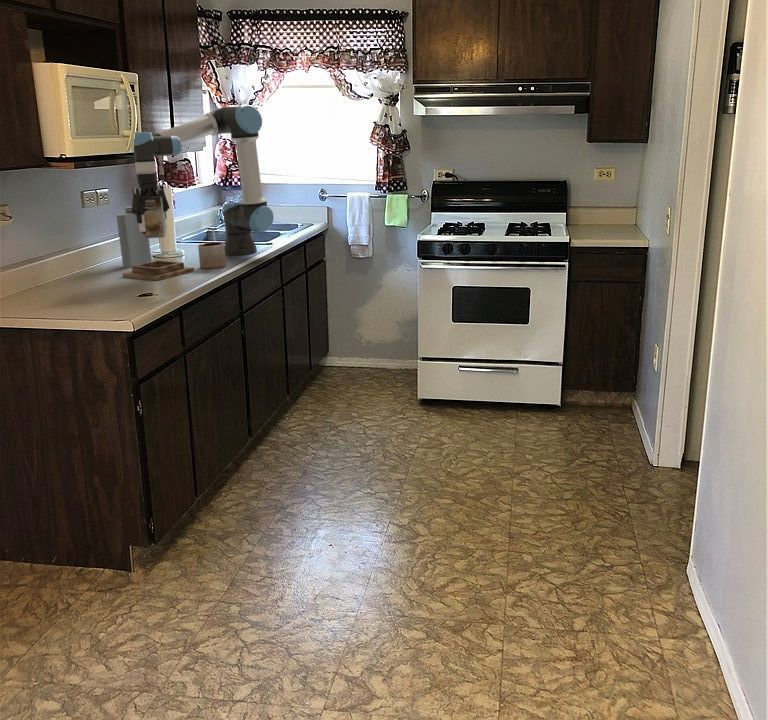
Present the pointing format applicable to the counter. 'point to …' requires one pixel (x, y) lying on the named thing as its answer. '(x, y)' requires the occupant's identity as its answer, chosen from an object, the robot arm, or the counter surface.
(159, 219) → the coffee box
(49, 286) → the counter surface
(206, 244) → the planter
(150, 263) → the holder
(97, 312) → the counter surface
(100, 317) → the counter surface
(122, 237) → the flask
